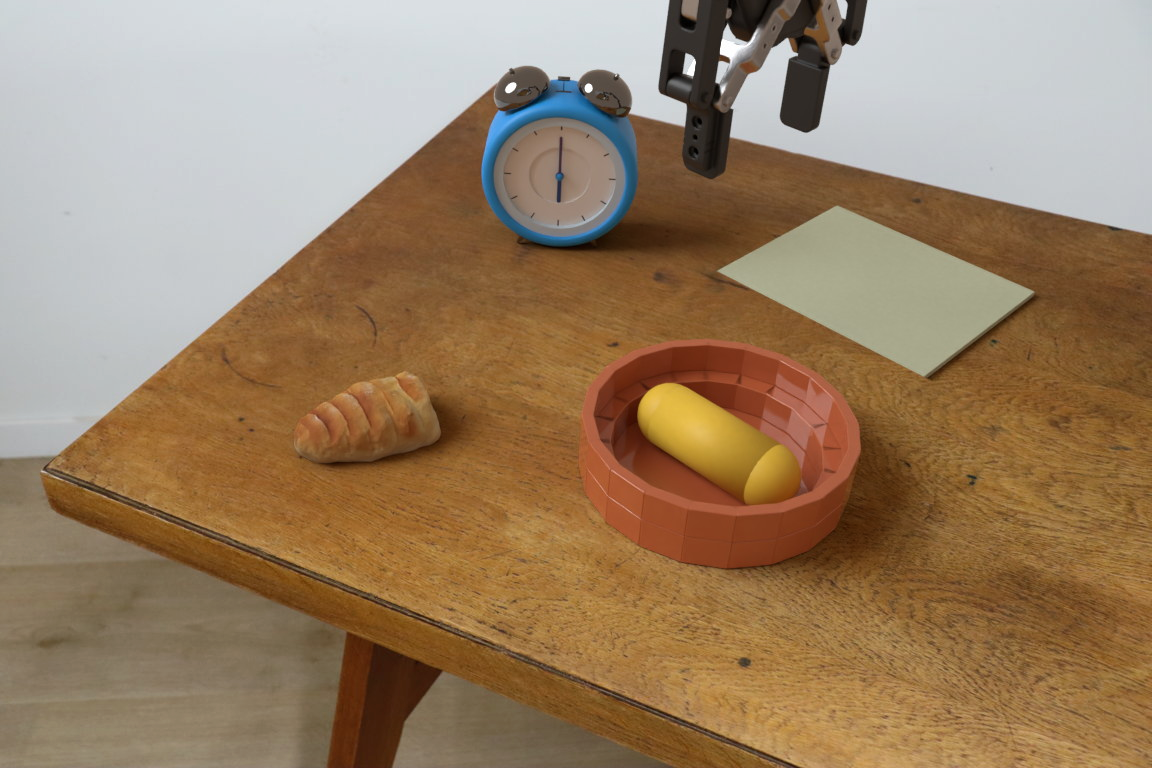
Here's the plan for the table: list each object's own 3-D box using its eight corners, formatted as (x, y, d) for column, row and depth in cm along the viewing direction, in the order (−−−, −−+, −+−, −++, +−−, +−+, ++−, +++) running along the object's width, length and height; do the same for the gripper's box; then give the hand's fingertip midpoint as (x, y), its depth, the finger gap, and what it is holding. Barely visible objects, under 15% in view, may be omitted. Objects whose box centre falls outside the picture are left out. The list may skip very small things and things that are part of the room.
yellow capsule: (621, 439, 75) (626, 388, 73) (664, 412, 78) (670, 361, 75) (767, 535, 69) (778, 482, 66) (808, 502, 71) (821, 450, 69)
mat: (836, 209, 105) (837, 205, 104) (1033, 296, 94) (1035, 291, 93) (700, 284, 93) (700, 279, 93) (907, 393, 82) (909, 388, 82)
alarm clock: (481, 246, 96) (479, 80, 87) (487, 212, 101) (487, 51, 92) (631, 254, 96) (646, 89, 87) (630, 219, 101) (644, 60, 92)
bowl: (695, 365, 84) (702, 310, 81) (896, 482, 74) (913, 424, 71) (524, 470, 73) (525, 411, 70) (732, 621, 64) (744, 561, 61)
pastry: (315, 490, 71) (309, 445, 69) (281, 431, 76) (274, 386, 73) (449, 447, 75) (447, 402, 73) (409, 393, 79) (406, 349, 77)
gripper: (779, -149, 43) (727, 217, 53) (956, -189, 52) (883, 134, 62) (635, -182, 47) (612, 165, 57) (821, -214, 56) (773, 93, 66)
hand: (752, 148), depth 59 cm, fingers open, 8 cm apart
